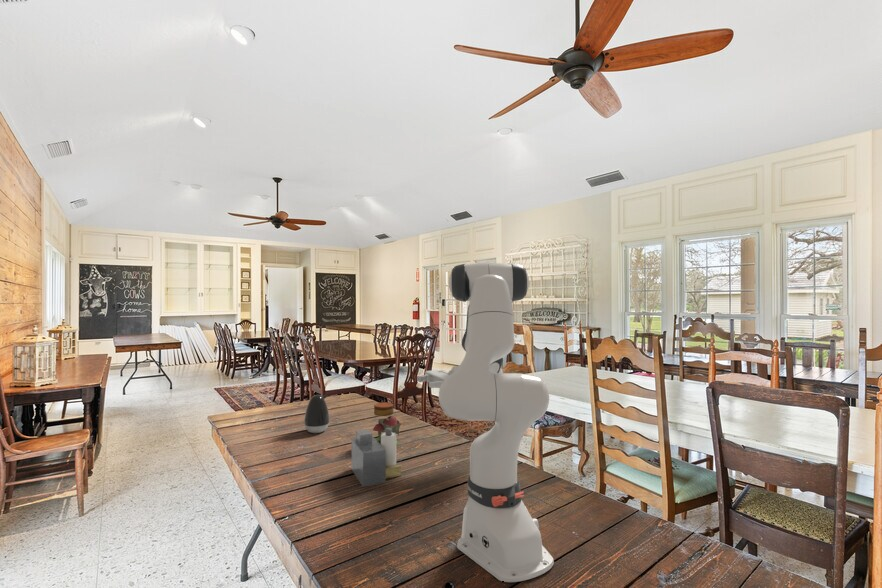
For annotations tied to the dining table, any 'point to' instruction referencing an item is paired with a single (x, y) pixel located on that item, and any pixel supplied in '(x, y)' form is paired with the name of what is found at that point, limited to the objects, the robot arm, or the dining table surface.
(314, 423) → the dark grey egg shape
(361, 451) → the motor
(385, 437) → the white bottle
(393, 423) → the mushroom figurine
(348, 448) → the dining table surface
